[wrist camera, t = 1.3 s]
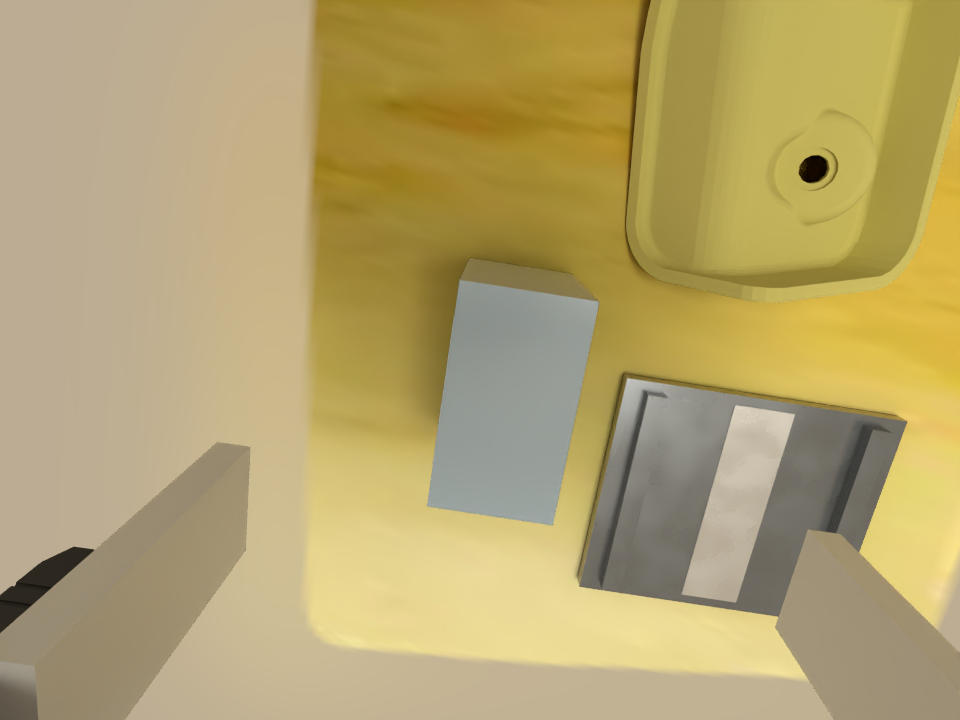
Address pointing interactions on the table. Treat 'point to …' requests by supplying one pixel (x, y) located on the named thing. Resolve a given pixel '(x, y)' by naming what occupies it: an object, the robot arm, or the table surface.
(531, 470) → the block
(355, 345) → the table surface
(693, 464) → the rail mount
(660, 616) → the table surface
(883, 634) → the robot arm
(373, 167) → the table surface
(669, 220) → the plastic component
